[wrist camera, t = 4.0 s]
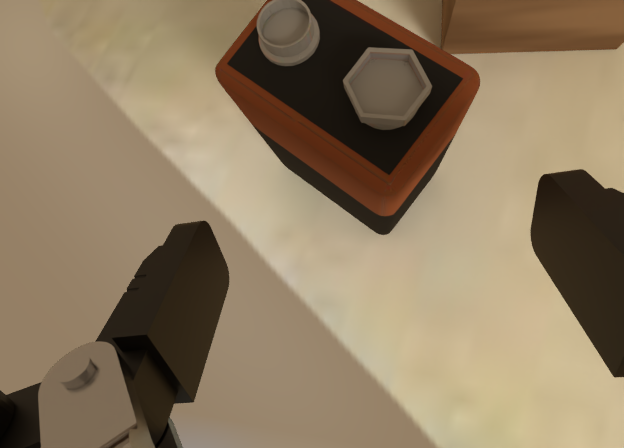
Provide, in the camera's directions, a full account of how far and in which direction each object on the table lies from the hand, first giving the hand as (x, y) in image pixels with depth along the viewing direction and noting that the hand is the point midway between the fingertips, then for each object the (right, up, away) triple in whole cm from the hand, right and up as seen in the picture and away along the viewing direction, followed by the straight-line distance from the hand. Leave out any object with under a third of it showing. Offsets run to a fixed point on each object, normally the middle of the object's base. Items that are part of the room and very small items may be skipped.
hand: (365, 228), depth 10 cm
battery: (+1, +3, +10) cm, 11 cm away
